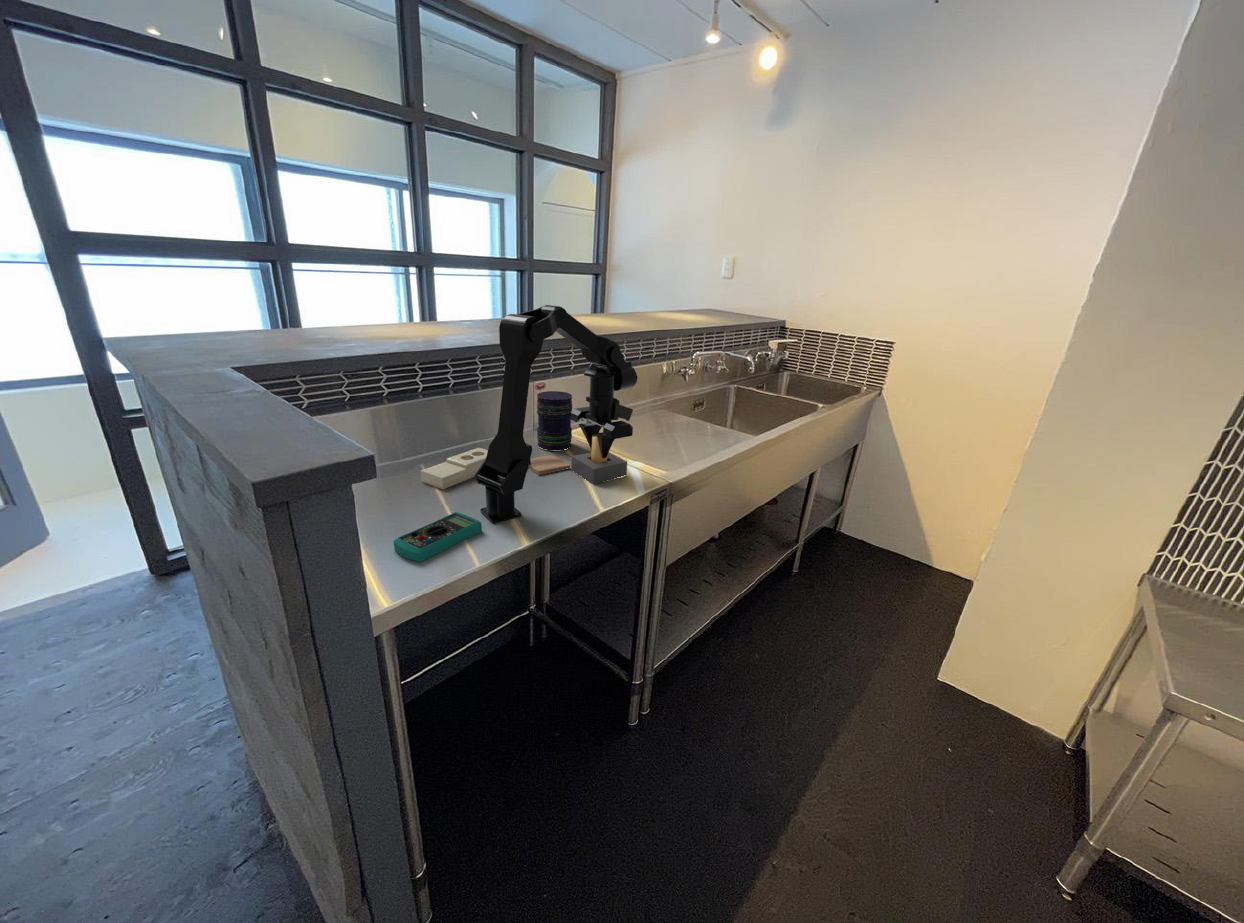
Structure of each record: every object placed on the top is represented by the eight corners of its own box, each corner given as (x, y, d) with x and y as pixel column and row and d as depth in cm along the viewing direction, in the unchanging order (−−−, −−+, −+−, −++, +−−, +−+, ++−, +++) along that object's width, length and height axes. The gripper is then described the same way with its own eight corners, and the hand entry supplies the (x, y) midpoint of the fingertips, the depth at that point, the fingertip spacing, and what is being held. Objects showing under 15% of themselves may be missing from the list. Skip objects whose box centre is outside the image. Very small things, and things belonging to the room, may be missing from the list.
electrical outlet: (420, 466, 116) (478, 446, 130) (421, 483, 117) (479, 461, 132) (441, 474, 113) (499, 453, 127) (443, 490, 114) (499, 467, 129)
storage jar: (549, 454, 139) (550, 401, 134) (530, 444, 146) (529, 393, 140) (578, 447, 145) (579, 396, 140) (558, 438, 152) (558, 389, 147)
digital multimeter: (390, 552, 89) (389, 538, 88) (458, 522, 101) (457, 508, 100) (417, 566, 85) (416, 551, 84) (484, 533, 97) (483, 519, 96)
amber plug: (609, 475, 127) (611, 437, 123) (596, 478, 125) (598, 439, 121) (600, 469, 130) (602, 432, 126) (587, 472, 128) (588, 435, 124)
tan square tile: (569, 468, 129) (570, 465, 129) (538, 475, 124) (538, 471, 124) (552, 458, 136) (552, 454, 136) (522, 463, 131) (522, 460, 130)
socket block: (626, 476, 126) (627, 461, 125) (593, 484, 121) (593, 469, 119) (603, 464, 134) (604, 449, 132) (571, 471, 128) (571, 456, 127)
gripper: (652, 398, 118) (648, 461, 123) (606, 383, 131) (604, 439, 137) (614, 404, 111) (611, 469, 117) (570, 386, 125) (569, 446, 131)
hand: (599, 455), depth 125 cm, fingers closed on amber plug, 4 cm apart
